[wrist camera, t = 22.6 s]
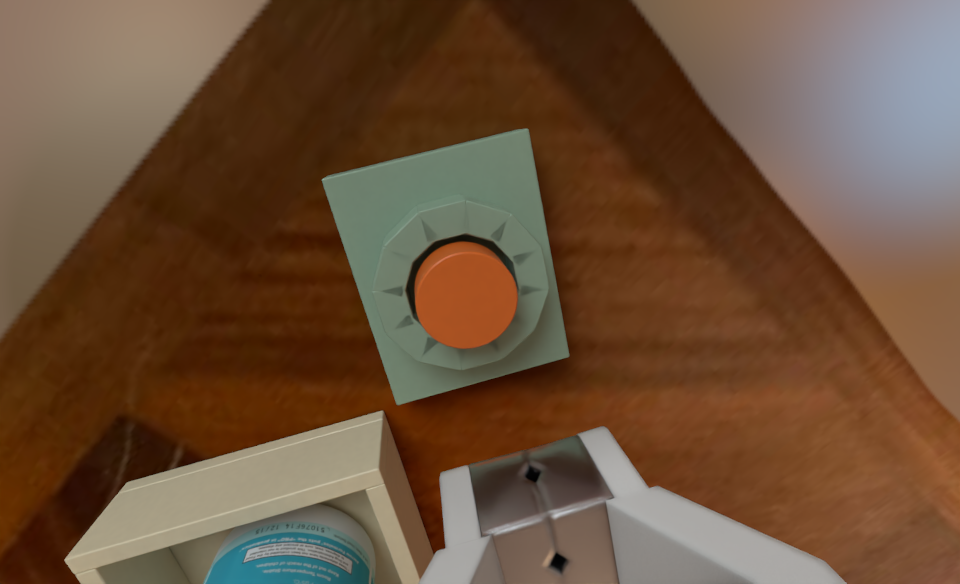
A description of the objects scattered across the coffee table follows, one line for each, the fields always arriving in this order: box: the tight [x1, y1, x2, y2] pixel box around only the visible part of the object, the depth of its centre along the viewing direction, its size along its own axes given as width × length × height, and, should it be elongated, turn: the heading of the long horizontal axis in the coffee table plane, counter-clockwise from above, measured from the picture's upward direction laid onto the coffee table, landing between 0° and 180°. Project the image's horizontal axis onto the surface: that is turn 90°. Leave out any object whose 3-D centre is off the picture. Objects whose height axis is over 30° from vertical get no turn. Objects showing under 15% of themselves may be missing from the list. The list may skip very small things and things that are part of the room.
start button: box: [414, 241, 518, 349], centre depth 17 cm, size 4×4×2 cm
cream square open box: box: [65, 411, 434, 584], centre depth 22 cm, size 12×12×4 cm
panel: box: [322, 129, 569, 405], centre depth 19 cm, size 10×8×4 cm
